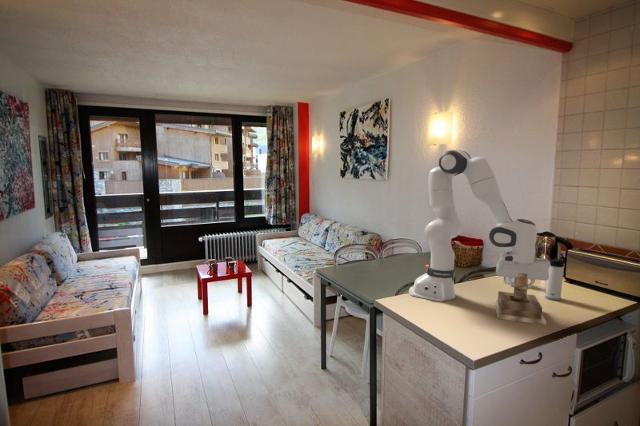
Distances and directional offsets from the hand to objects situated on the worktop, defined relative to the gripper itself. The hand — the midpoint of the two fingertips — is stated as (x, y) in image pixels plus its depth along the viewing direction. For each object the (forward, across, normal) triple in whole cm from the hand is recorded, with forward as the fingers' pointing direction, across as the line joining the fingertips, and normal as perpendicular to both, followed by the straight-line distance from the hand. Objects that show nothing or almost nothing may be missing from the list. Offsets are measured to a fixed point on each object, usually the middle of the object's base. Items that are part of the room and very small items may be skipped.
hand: (520, 287), depth 161 cm
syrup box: (+12, -3, -43) cm, 45 cm away
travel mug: (+12, -19, -25) cm, 34 cm away
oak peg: (+5, 0, 0) cm, 5 cm away
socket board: (+12, 0, 0) cm, 12 cm away
